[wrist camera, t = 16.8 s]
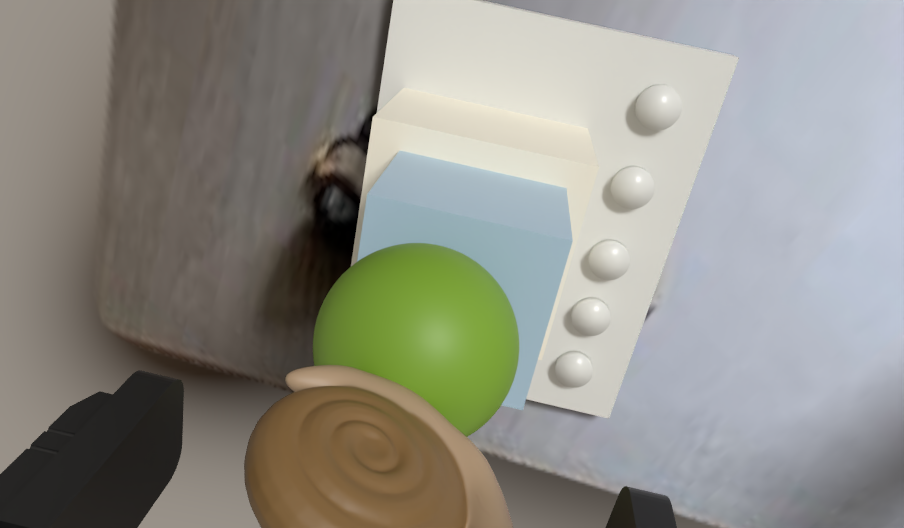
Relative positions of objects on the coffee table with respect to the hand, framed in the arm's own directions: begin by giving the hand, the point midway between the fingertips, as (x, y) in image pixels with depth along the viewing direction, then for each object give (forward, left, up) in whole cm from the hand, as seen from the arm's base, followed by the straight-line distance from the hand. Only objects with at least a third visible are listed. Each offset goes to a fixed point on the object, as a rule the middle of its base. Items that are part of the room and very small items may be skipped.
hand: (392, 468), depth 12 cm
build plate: (+2, +2, -21) cm, 21 cm away
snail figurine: (+1, 0, -9) cm, 9 cm away
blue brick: (+1, 0, -14) cm, 14 cm away
